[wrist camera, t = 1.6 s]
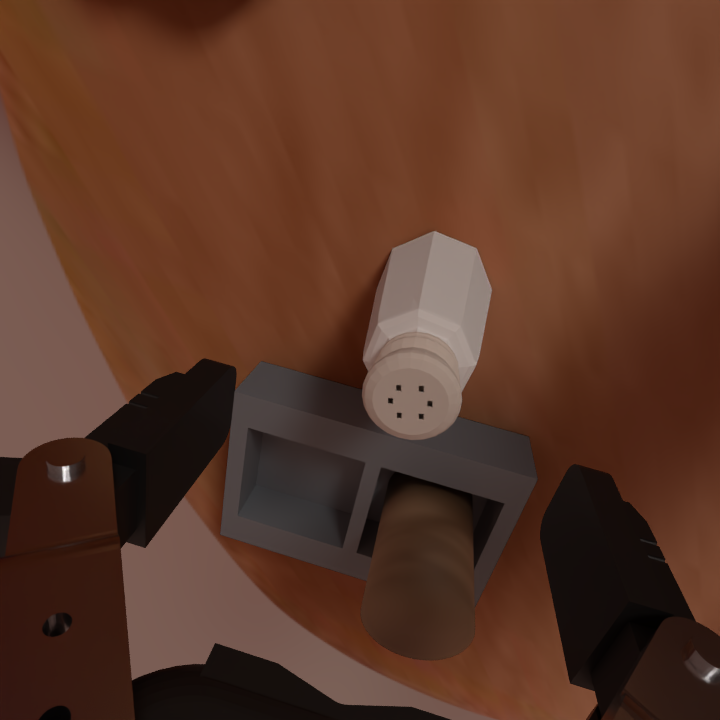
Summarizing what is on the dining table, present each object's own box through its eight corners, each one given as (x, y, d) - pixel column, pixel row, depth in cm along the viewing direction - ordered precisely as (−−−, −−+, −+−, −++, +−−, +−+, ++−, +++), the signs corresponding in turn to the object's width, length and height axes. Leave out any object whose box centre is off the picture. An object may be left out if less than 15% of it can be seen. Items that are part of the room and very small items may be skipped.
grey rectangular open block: (528, 436, 25) (537, 479, 22) (470, 564, 30) (471, 614, 27) (261, 361, 27) (234, 391, 24) (244, 494, 31) (220, 534, 28)
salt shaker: (379, 338, 25) (322, 473, 15) (375, 230, 22) (307, 307, 13) (487, 342, 24) (504, 490, 14) (496, 229, 21) (522, 312, 12)
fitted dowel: (484, 475, 26) (491, 603, 19) (457, 537, 28) (455, 673, 21) (398, 450, 26) (373, 567, 19) (379, 513, 29) (350, 638, 22)
